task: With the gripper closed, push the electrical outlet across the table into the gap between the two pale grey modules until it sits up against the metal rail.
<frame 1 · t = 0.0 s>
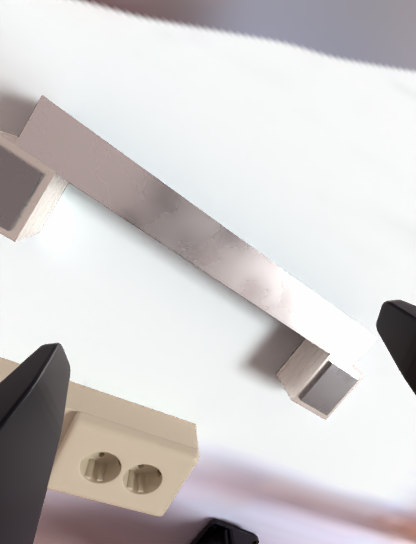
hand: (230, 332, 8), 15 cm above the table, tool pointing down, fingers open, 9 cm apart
electrical outlet: (91, 420, 27), on the table
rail: (218, 248, 24), on the table
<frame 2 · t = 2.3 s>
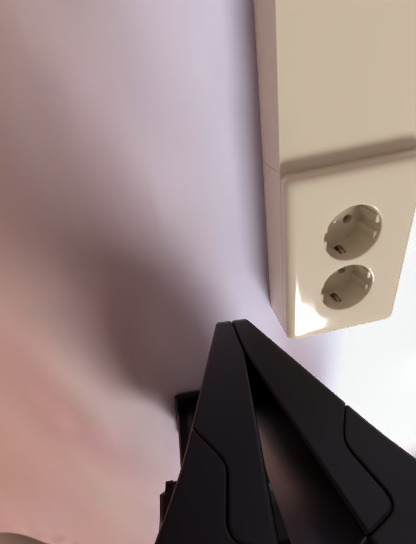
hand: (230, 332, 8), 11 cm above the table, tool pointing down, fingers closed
electrical outlet: (317, 179, 19), on the table
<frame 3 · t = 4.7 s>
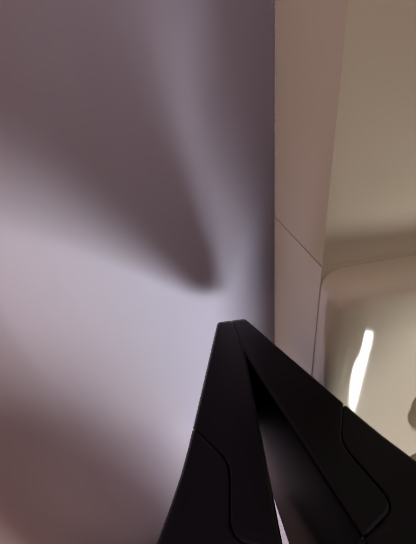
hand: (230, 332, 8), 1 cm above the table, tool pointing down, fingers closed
electrical outlet: (376, 245, 10), on the table, touching gripper
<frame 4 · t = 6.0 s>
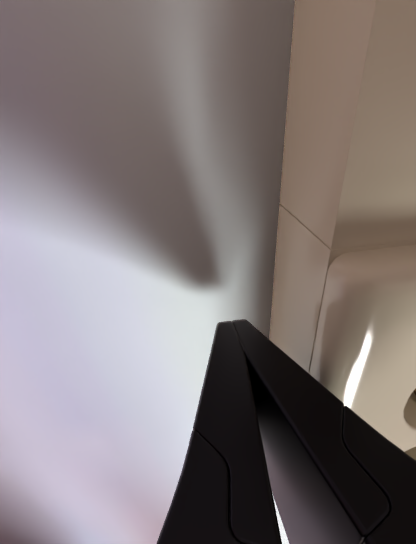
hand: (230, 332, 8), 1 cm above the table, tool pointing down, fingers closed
electrical outlet: (376, 242, 10), on the table, touching gripper
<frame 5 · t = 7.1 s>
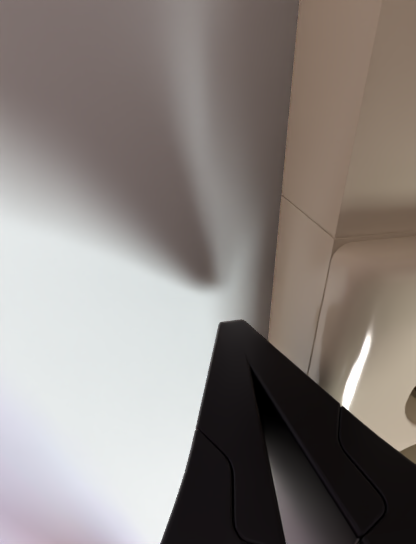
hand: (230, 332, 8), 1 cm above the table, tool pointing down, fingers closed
electrical outlet: (378, 237, 10), on the table, touching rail
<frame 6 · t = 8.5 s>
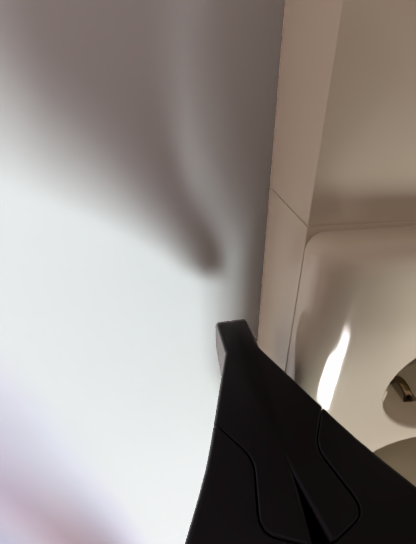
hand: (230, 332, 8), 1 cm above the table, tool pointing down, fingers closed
electrical outlet: (372, 234, 9), on the table, touching gripper, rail
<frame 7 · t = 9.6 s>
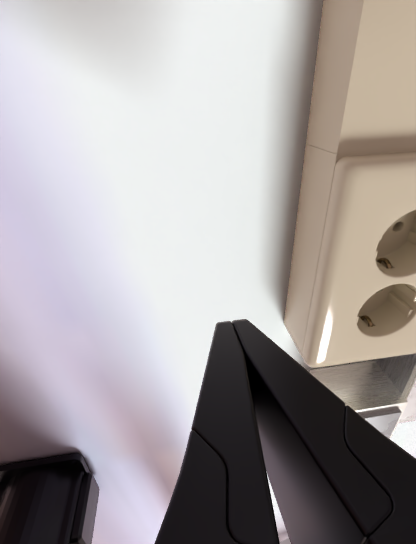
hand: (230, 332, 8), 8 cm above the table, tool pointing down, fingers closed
electrical outlet: (363, 176, 15), on the table
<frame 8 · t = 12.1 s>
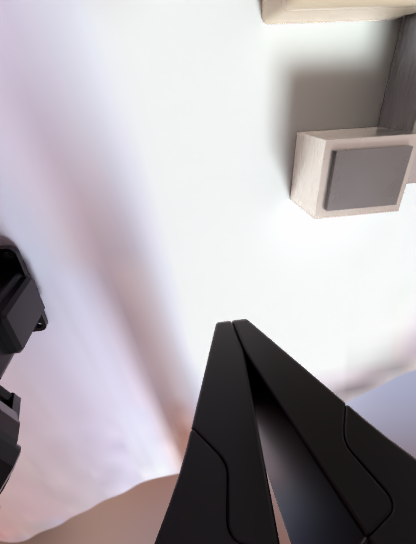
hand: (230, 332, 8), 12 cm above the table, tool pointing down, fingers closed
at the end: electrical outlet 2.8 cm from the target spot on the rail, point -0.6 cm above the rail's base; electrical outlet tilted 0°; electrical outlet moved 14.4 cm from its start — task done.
